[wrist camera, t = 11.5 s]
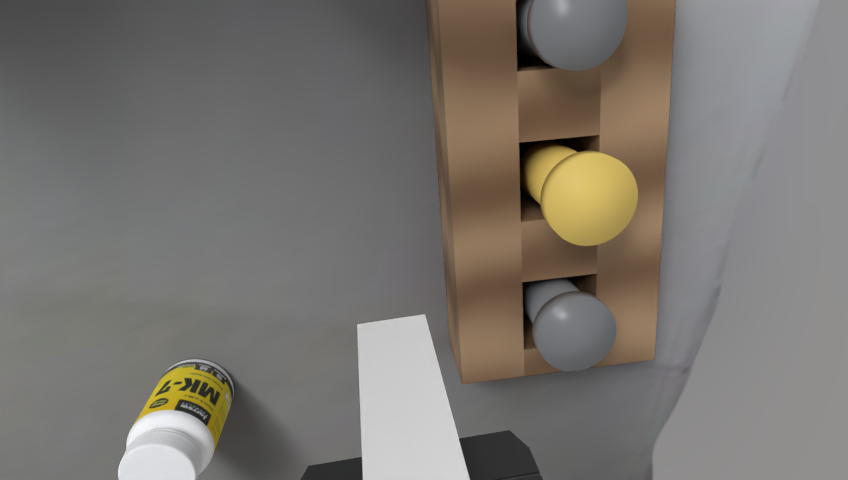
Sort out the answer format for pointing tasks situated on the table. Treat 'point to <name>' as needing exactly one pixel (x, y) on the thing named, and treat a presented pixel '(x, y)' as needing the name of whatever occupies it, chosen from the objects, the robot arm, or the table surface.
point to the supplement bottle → (179, 424)
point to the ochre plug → (579, 191)
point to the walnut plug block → (521, 216)
